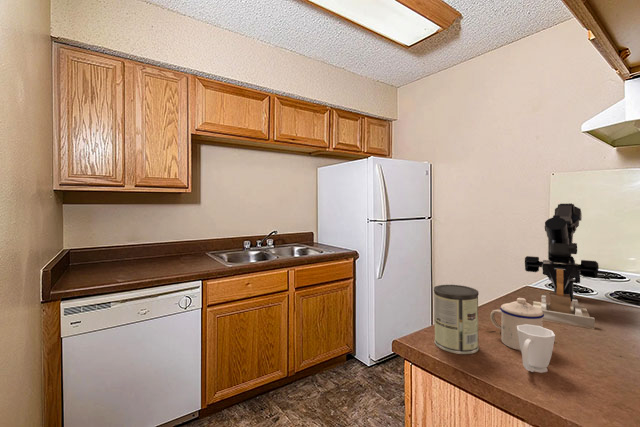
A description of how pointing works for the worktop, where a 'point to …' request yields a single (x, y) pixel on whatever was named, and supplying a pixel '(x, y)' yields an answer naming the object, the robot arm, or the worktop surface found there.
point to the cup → (535, 347)
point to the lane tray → (575, 318)
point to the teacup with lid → (516, 320)
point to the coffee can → (456, 318)
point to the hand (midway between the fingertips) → (560, 288)
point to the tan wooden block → (560, 297)
